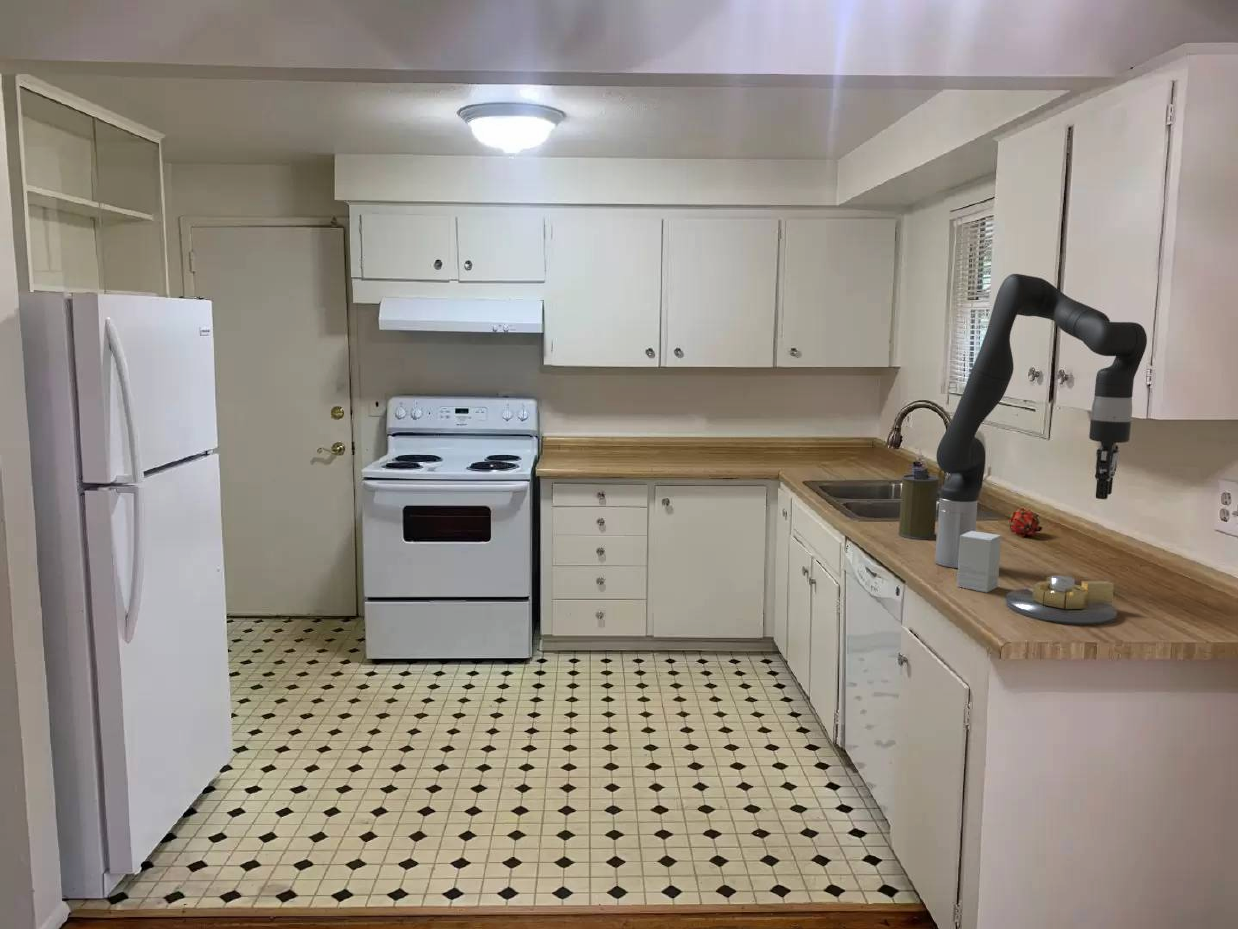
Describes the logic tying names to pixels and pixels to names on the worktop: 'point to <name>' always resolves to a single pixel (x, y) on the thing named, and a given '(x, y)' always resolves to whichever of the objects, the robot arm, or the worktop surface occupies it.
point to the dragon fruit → (1024, 523)
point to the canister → (918, 505)
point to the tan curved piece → (1073, 594)
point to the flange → (1086, 616)
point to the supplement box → (979, 561)
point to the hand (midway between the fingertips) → (1103, 496)
